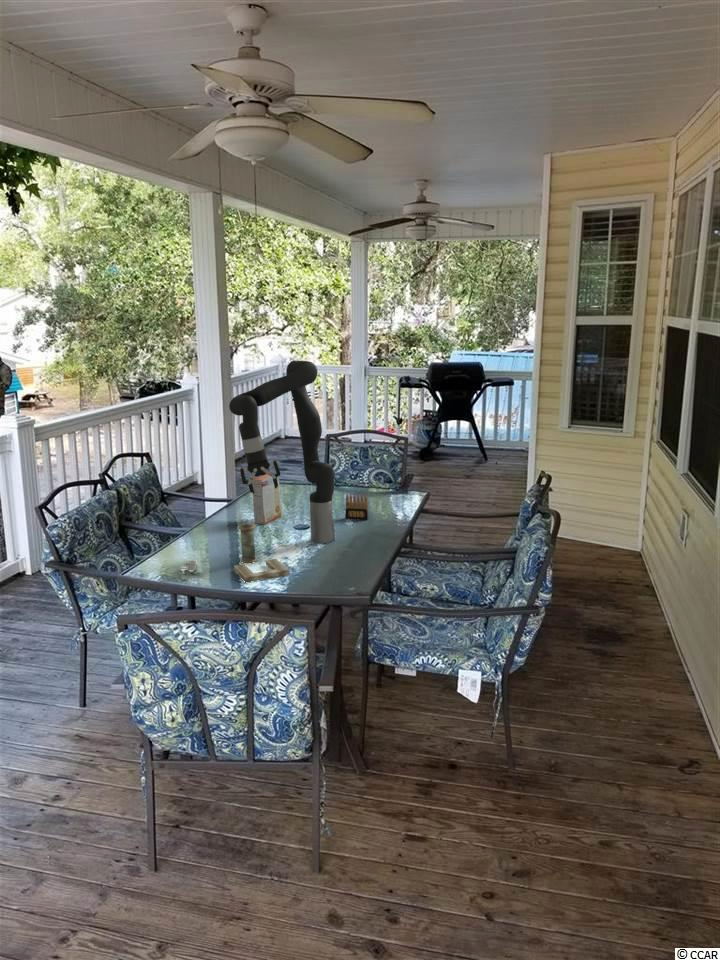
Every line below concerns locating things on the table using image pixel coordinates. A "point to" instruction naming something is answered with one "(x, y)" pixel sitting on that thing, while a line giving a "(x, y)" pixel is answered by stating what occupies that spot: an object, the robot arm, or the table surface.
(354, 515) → the ammunition clip
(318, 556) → the table surface
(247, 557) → the bobbin
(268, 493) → the cracker box
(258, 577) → the tan u-shaped bracket
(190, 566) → the white curved piece
